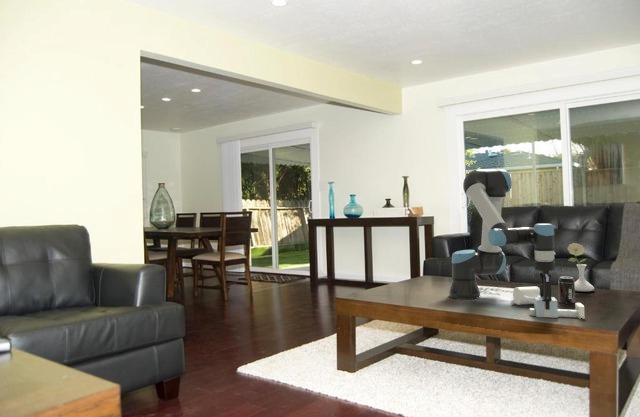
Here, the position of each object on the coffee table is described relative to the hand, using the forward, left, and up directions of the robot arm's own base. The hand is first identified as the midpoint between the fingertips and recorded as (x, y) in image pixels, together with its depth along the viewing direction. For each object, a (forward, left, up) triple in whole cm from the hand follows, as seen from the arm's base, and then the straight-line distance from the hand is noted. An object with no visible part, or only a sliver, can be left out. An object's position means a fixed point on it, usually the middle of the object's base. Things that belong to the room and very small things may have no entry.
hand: (545, 314), depth 209 cm
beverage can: (+13, +28, -1) cm, 31 cm away
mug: (-4, +21, -1) cm, 22 cm away
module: (0, 0, 0) cm, 0 cm away
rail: (+3, 0, 0) cm, 3 cm away
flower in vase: (+25, +60, -1) cm, 65 cm away
